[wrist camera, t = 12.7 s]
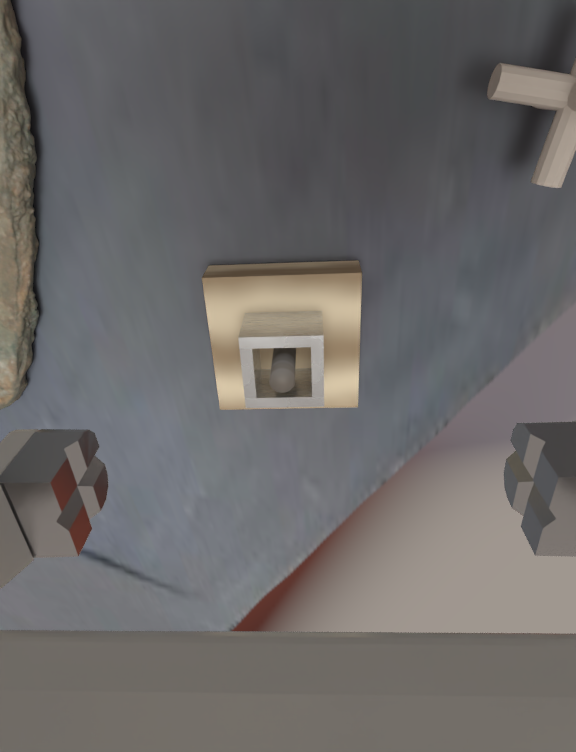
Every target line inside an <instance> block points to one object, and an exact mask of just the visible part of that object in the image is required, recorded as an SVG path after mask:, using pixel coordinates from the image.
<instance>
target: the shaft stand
mask: <svg viewBox="0 0 576 752" xmlns="http://www.w3.org/2000/svg"><path fill="white" fill-rule="evenodd" d="M202 282H203V289H204V296H205V304H206V311H207V318H208V325H209V333H210V340H211V347H212V354H213V361H214V369H215V376H216V383H217V390H218V398H219V405H220V410H228V409H283V408H246V406H245V396H244V387H243V378H242V368H241V359H240V349H239V340H238V337H239V333H240V329H241V326H242V322H243V319H244V315H245V313H259V312H294V311H322V319H323V335H324V407H286V408H337V407H358V385H359V352H360V320H361V287H362V271H361V268H360V264H359V261H358V260H356V261H327V262H297V263H268V264H238V265H209V266H208V268H207V270H206V272H205V273H204V275H203V277H202ZM260 360H261V369H271V373H270V386H271V387H272V389H273V390H275V391H277V392H280V393H284V392H288V391H290V390H291V389H292V388H293V387H294V384H295V369H299V368H311V347H299V348H260Z"/></svg>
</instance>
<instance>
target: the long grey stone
mask: <svg viewBox="0 0 576 752" xmlns="http://www.w3.org/2000/svg"><path fill="white" fill-rule="evenodd" d="M21 40H22V39H21V37H20V35H19V32H18V26H17V24H16V18H15V13H14V11H13V7H12V4H11V1H10V0H0V410H1V409H3V408H5V407H7V406H10V405H11V404H12V403H14V402H15V401H16V400H18V399H19V398H20V396H21V394H22V392H23V391H24V390H25V388H26V386H27V385H28V383H27V380H26V376H25V374H26V372H27V369H28V368H29V367H30V365H31V364H32V356H33V353H32V343H33V341H34V337H35V336H34V330H35V327H36V325H37V320H38V317H39V311H38V309H37V306H38V303H37V301H36V299H35V293H34V292H33V281H34V279H33V276H34V262H35V261H36V255H37V252H38V246H39V242H38V239H37V237H36V234H35V221H36V219H35V217H34V210H35V209H34V208H33V201H34V200H33V199H34V193H33V186H34V185H33V179H34V178H35V174H36V167H35V162H36V160H37V155H36V152H35V146H34V144H35V142H34V137H33V135H32V134H31V132H30V127H31V124H30V120H31V115H30V108H29V106H28V103H27V99H26V96H25V89H24V84H25V80H26V77H25V75H26V71H25V69H24V59H23V57H22V56H21V52H20V48H21Z"/></svg>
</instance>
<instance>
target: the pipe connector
mask: <svg viewBox="0 0 576 752" xmlns="http://www.w3.org/2000/svg"><path fill="white" fill-rule="evenodd" d="M487 97H488V98H489V99H491V100H498V101H504V102H510V103H517V104H523V105H529V106H533V107H534V108H537V109H546V110H555V111H556V113H555V116H554V119H553V122H552V124H551V127H550V130H549V133H548V135H547V138H546V141H545V144H544V146H543V149H542V152H541V155H540V157H539V160H538V163H537V166H536V168H535V171H534V174H533V177H532V179H531V182H532V183H535V184H538V185H542V186H548V187H554V188H561V186H562V184H563V181H564V178H565V176H566V173H567V171H568V168H569V166H570V163H571V161H572V158H573V156H574V153H575V151H576V58H575V61H574V64H573V66H572V69H571V72H570V74H565V73H559V72H553V71H547V70H541V69H534V68H528V67H522V66H516V65H510V64H503V63H499V64H498V65H497V66H496V67H495V69H494V71H493V73H492V76H491V78H490V81H489V85H488V90H487Z"/></svg>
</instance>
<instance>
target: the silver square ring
mask: <svg viewBox="0 0 576 752" xmlns="http://www.w3.org/2000/svg"><path fill="white" fill-rule="evenodd" d="M238 340H239V349H240V359H241V368H242V378H243V387H244V396H245V406H246V408H286V407H324V335H323V319H322V311H294V312H259V313H245V315H244V319H243V322H242V326H241V329H240V333H239V337H238ZM299 347H311V368H299V369H295V384H294V387H293V388H292V389H291V390H290V391H288V392H284V393H280V392H277V391H275V390H273V389H272V387H271V386H270V373H271V369H261V360H260V348H299Z"/></svg>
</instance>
